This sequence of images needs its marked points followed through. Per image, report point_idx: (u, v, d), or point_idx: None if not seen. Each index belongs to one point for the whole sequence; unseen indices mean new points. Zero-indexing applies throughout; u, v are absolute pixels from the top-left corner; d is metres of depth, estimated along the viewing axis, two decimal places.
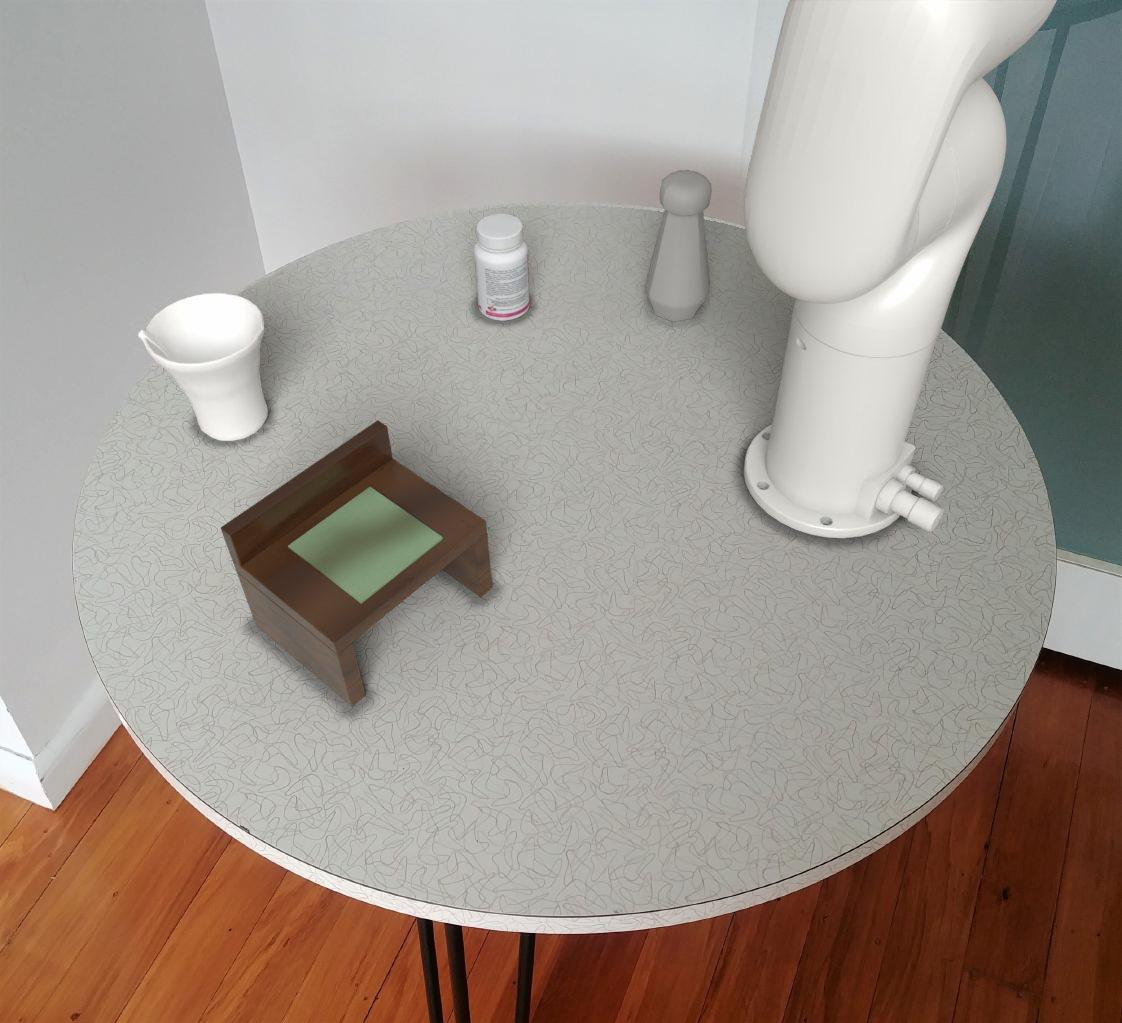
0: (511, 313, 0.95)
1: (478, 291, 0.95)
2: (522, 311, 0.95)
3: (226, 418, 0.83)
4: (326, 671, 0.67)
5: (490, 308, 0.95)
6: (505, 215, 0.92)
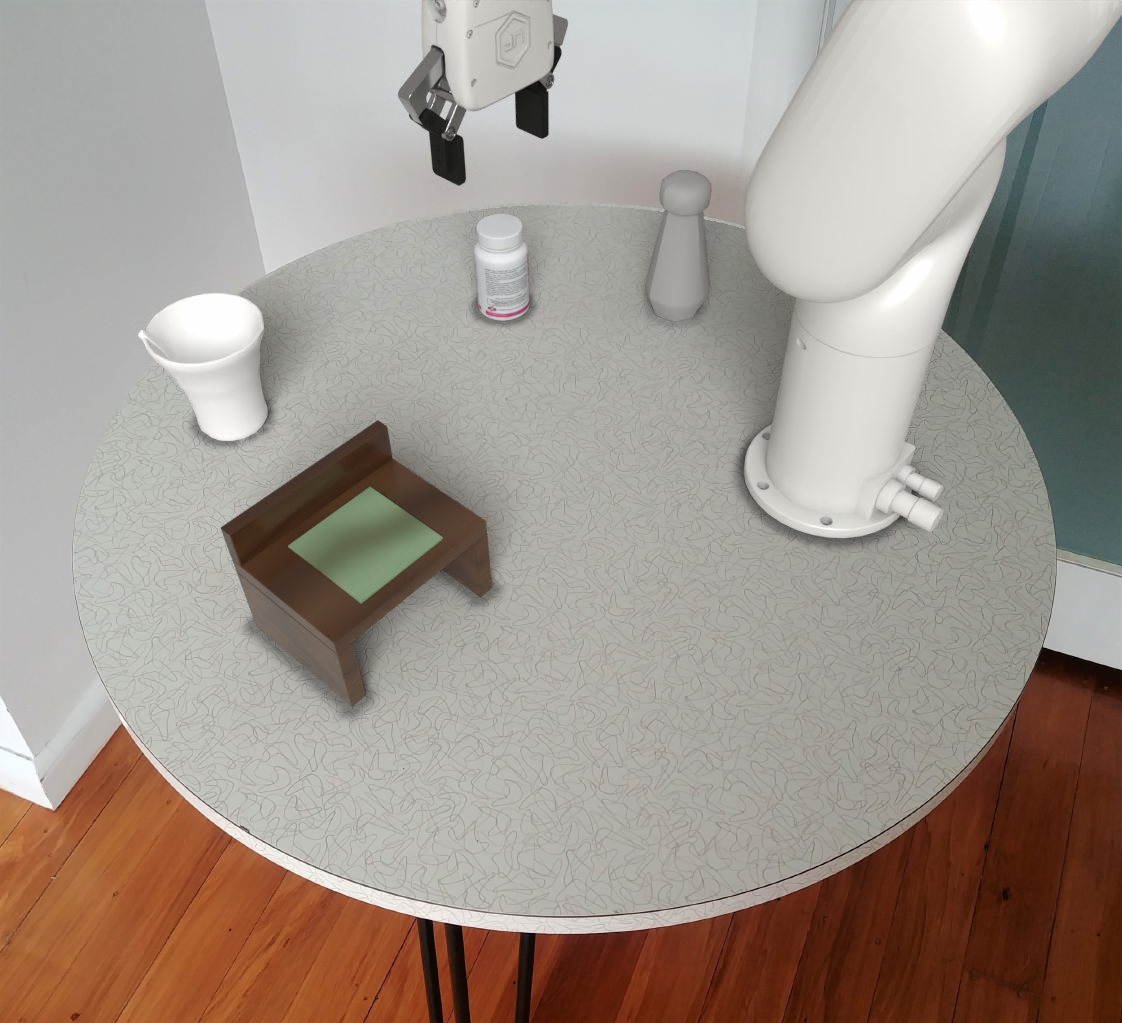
0: (511, 313, 0.95)
1: (478, 291, 0.95)
2: (522, 311, 0.95)
3: (226, 418, 0.83)
4: (326, 671, 0.67)
5: (490, 308, 0.95)
6: (505, 215, 0.92)
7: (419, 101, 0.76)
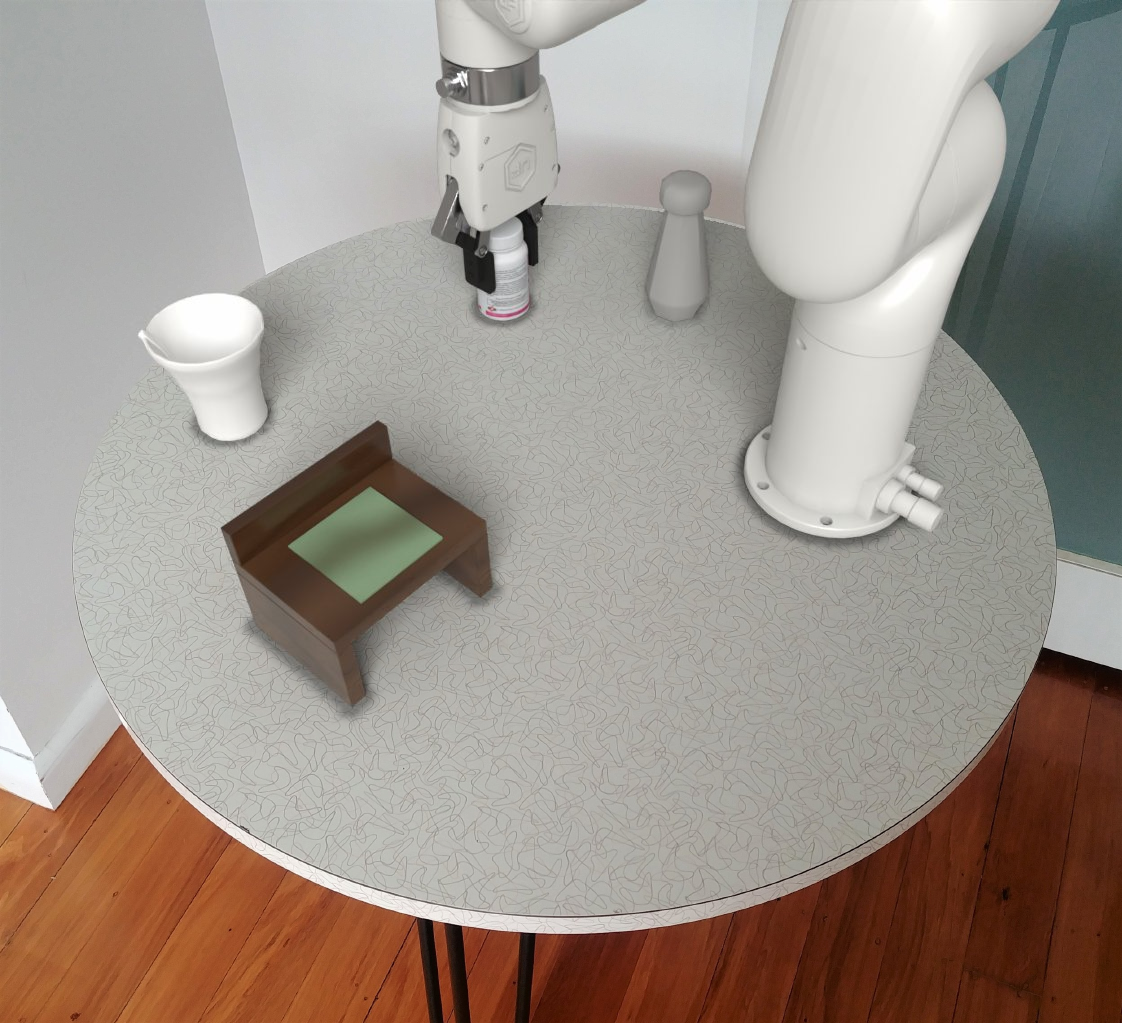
0: (511, 313, 0.95)
1: (478, 291, 0.95)
2: (522, 311, 0.95)
3: (226, 418, 0.83)
4: (326, 671, 0.67)
5: (490, 308, 0.95)
6: None
7: (450, 234, 0.86)
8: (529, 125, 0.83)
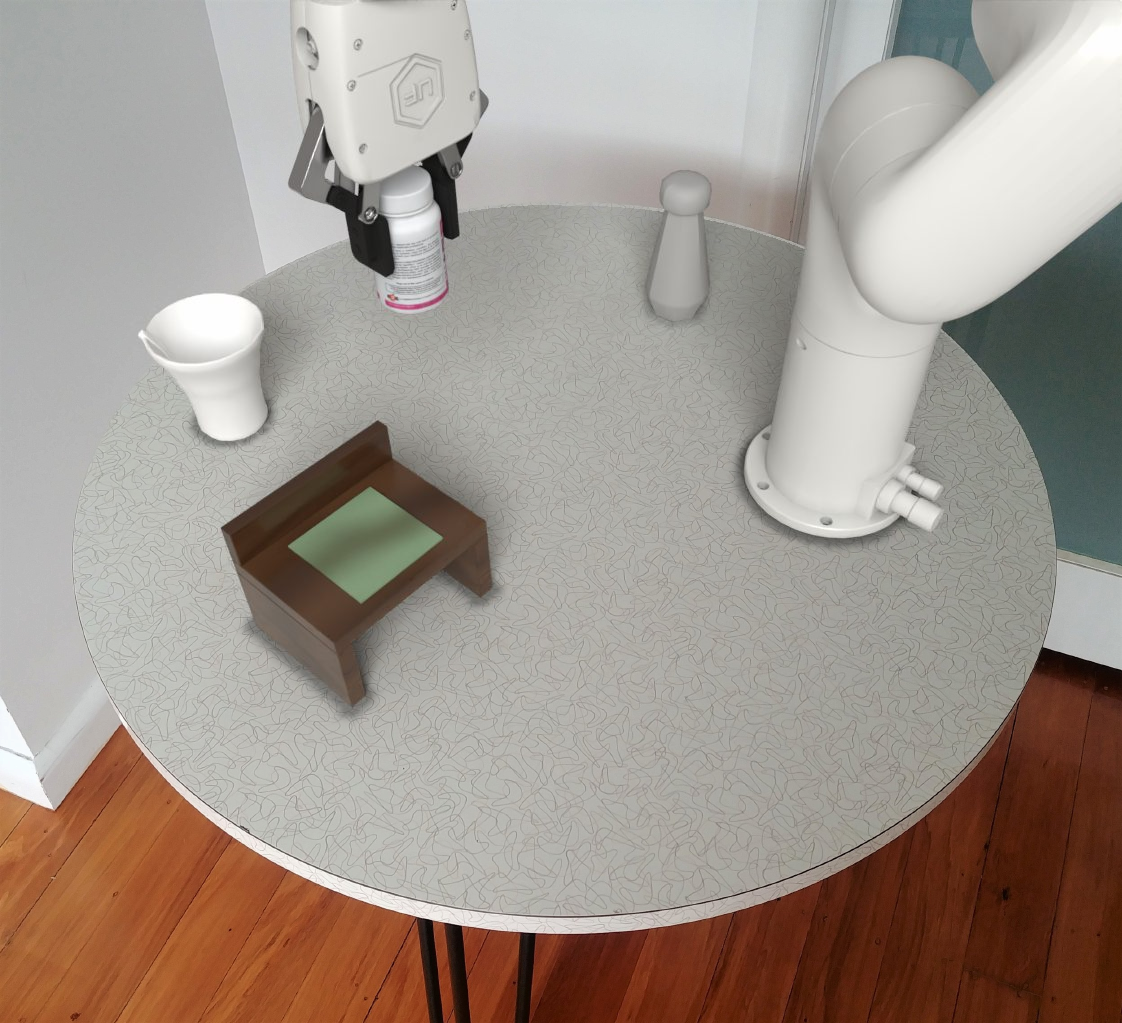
0: (419, 303, 0.68)
1: (374, 273, 0.68)
2: (436, 301, 0.69)
3: (226, 418, 0.83)
4: (326, 671, 0.67)
5: (390, 297, 0.68)
6: None
7: (317, 187, 0.59)
8: (428, 27, 0.57)
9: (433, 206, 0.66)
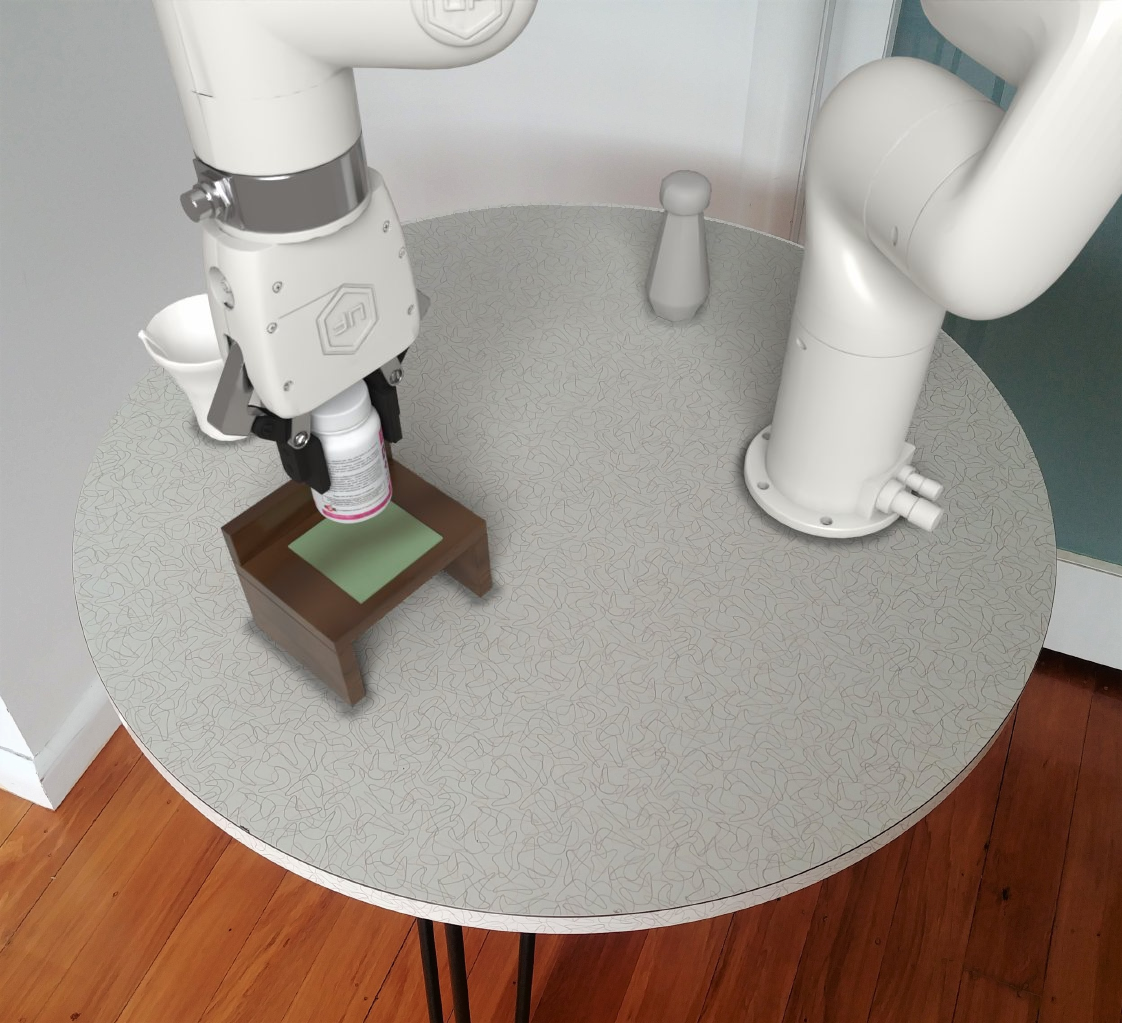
0: (359, 514, 0.63)
1: None
2: (378, 509, 0.63)
3: None
4: (326, 671, 0.67)
5: (328, 507, 0.63)
6: None
7: (239, 422, 0.54)
8: (357, 255, 0.51)
9: (371, 416, 0.60)
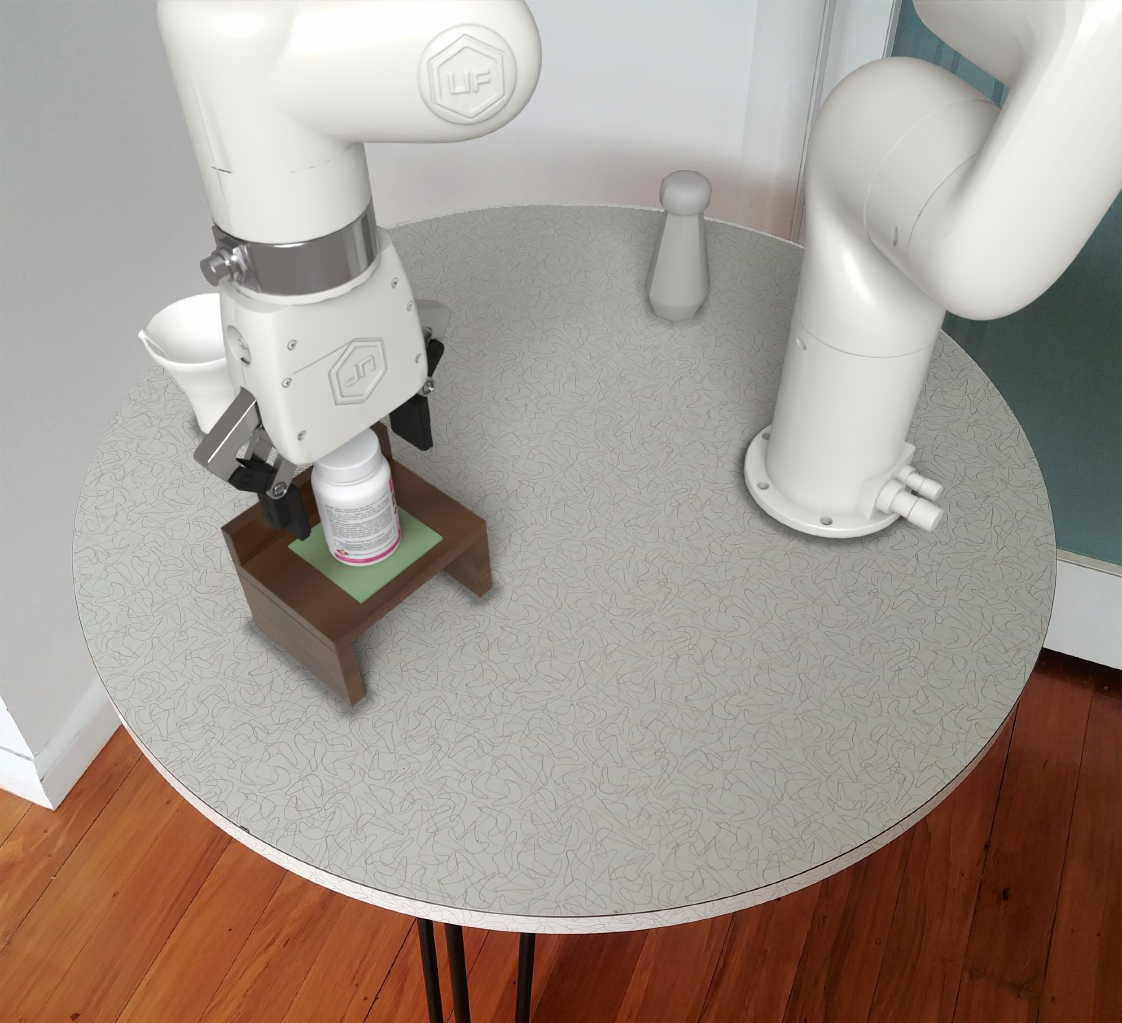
0: (370, 557, 0.66)
1: (323, 527, 0.66)
2: (388, 552, 0.66)
3: None
4: (326, 671, 0.67)
5: (340, 551, 0.66)
6: None
7: (224, 464, 0.54)
8: (367, 311, 0.54)
9: (382, 466, 0.63)
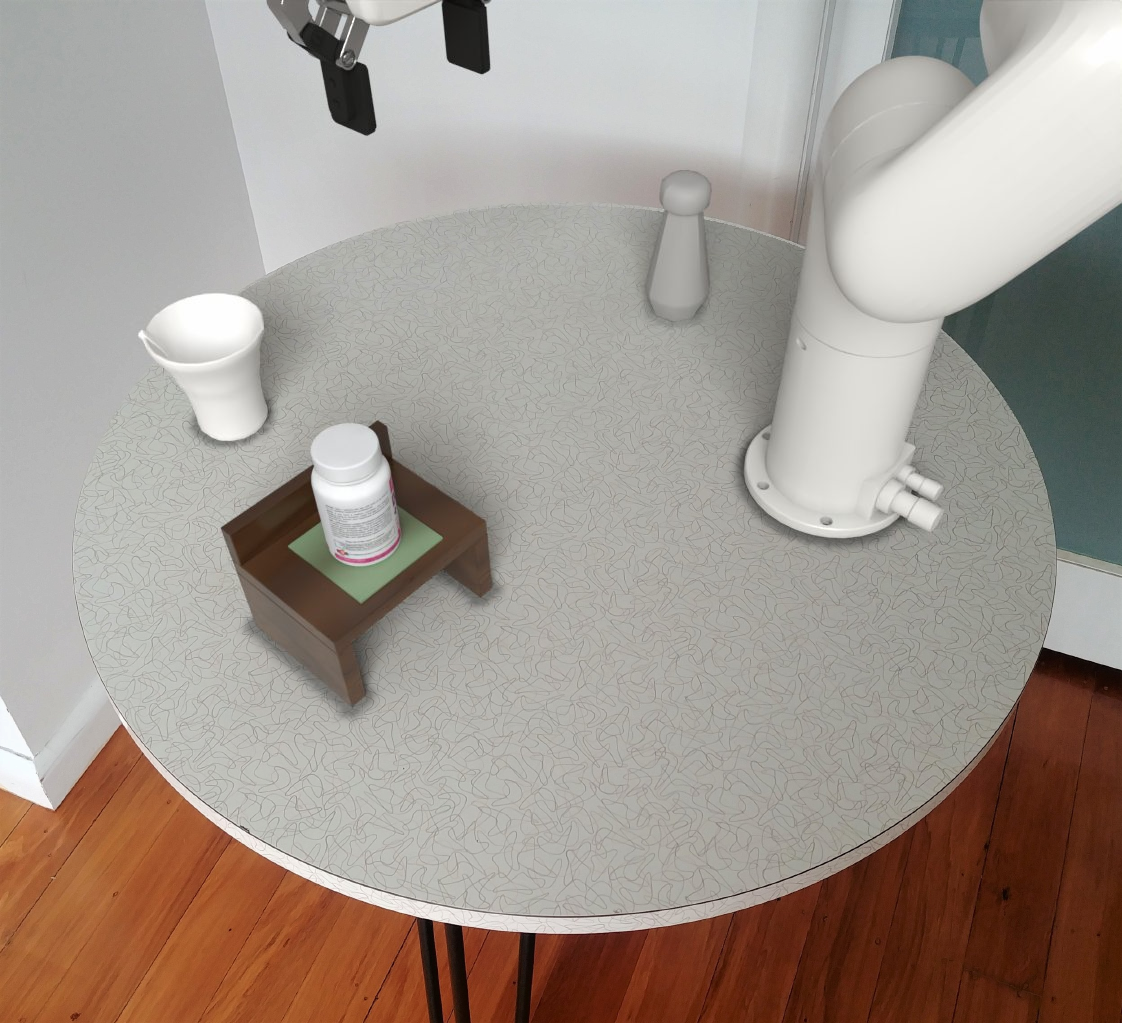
0: (370, 557, 0.66)
1: (323, 527, 0.66)
2: (388, 552, 0.66)
3: (226, 418, 0.83)
4: (326, 671, 0.67)
5: (340, 551, 0.66)
6: (355, 426, 0.63)
7: (298, 10, 0.54)
8: None
9: (382, 466, 0.63)
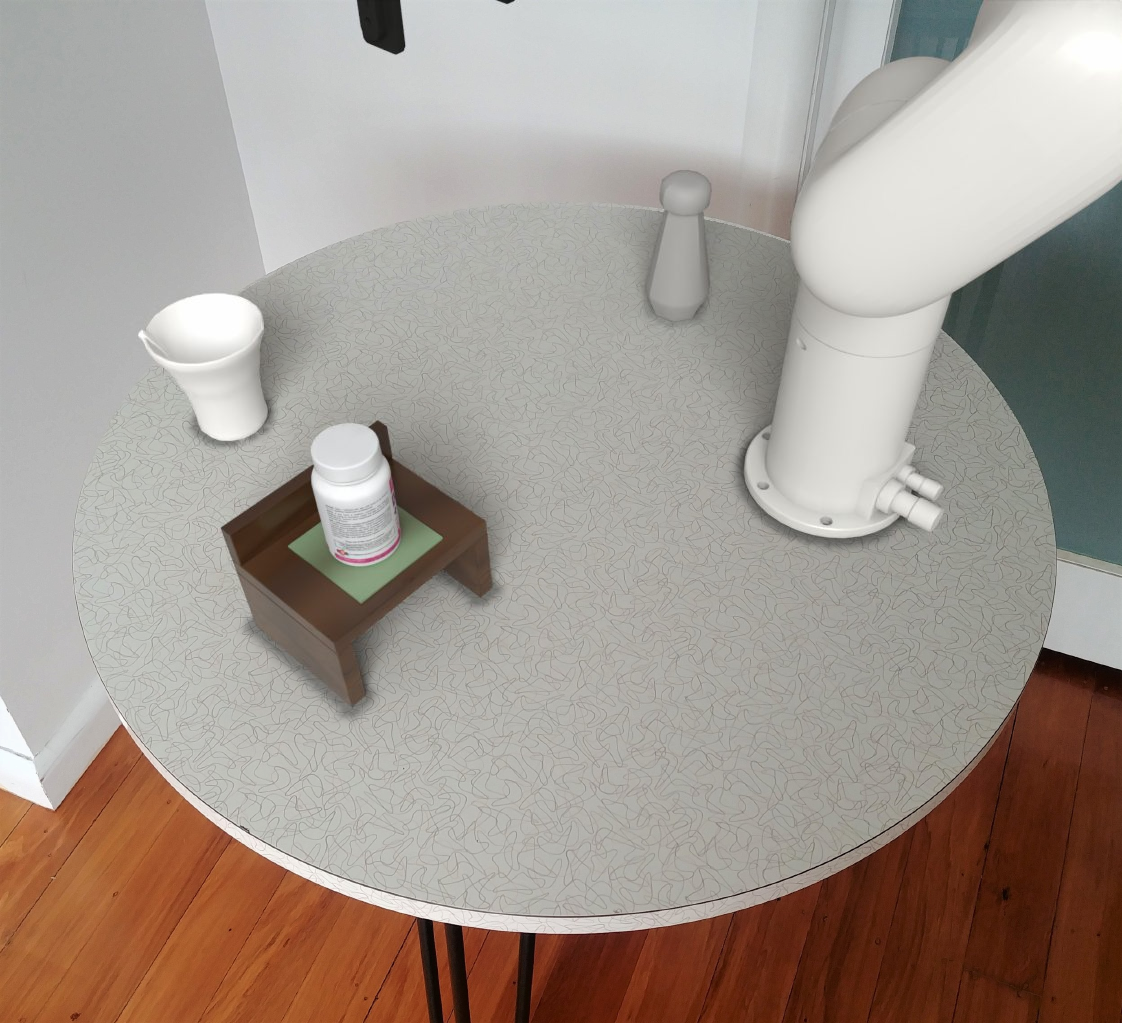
0: (370, 557, 0.66)
1: (323, 527, 0.66)
2: (388, 552, 0.66)
3: (226, 418, 0.83)
4: (326, 671, 0.67)
5: (340, 551, 0.66)
6: (355, 426, 0.63)
7: None
8: None
9: (382, 466, 0.63)
